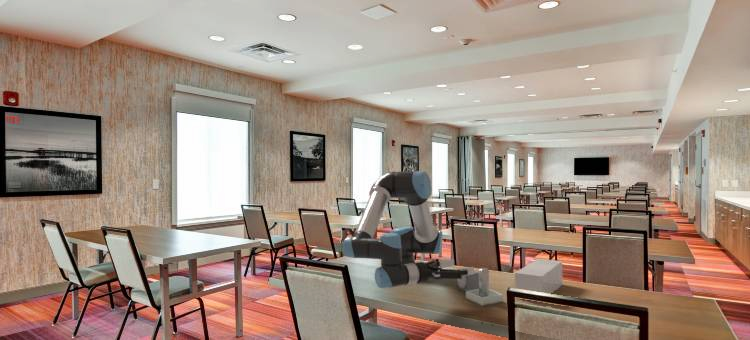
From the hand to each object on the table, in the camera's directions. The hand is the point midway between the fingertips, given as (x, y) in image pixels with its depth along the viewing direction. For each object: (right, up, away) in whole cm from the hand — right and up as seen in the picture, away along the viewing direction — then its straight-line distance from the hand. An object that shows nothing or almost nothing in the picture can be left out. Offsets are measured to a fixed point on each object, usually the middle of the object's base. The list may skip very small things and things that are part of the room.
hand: (463, 266), depth 171 cm
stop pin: (+9, -14, +4) cm, 17 cm away
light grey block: (+36, -15, +16) cm, 42 cm away
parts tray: (+9, -15, +4) cm, 18 cm away
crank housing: (+5, -15, +19) cm, 24 cm away
